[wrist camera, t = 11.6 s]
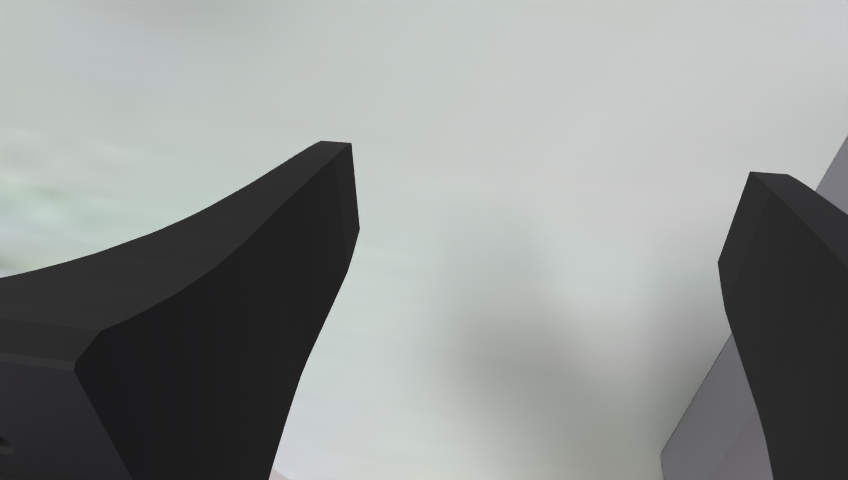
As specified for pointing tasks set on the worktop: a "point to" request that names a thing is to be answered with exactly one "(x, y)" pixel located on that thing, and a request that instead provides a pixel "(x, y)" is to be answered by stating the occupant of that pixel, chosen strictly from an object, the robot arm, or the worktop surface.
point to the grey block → (733, 399)
